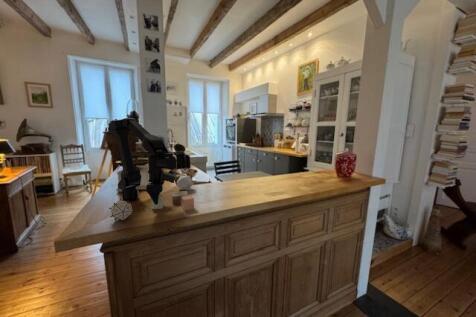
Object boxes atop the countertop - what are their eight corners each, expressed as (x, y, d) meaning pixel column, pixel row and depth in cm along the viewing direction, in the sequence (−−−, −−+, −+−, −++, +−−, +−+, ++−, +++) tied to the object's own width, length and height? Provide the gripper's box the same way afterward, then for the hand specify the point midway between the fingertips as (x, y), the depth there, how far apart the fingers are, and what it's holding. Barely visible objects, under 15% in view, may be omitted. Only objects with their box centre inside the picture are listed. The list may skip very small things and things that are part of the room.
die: (184, 194, 111) (194, 179, 113) (171, 185, 112) (181, 170, 114) (187, 194, 120) (197, 180, 121) (175, 186, 120) (185, 172, 122)
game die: (120, 227, 81) (117, 203, 84) (140, 219, 81) (137, 196, 85) (104, 226, 72) (102, 200, 76) (126, 217, 73) (123, 192, 76)
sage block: (151, 209, 89) (151, 198, 88) (153, 205, 93) (152, 195, 93) (162, 208, 90) (162, 197, 90) (163, 204, 95) (162, 194, 94)
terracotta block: (184, 210, 88) (183, 200, 87) (181, 207, 92) (180, 196, 91) (194, 208, 90) (193, 198, 89) (190, 205, 94) (190, 195, 93)
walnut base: (172, 204, 95) (172, 196, 95) (173, 199, 102) (173, 191, 101) (187, 203, 97) (187, 195, 96) (187, 198, 104) (187, 190, 103)
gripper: (174, 170, 83) (175, 206, 85) (174, 162, 100) (175, 192, 103) (144, 172, 79) (147, 209, 82) (150, 163, 97) (152, 194, 99)
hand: (157, 200), depth 92 cm, fingers open, 9 cm apart
